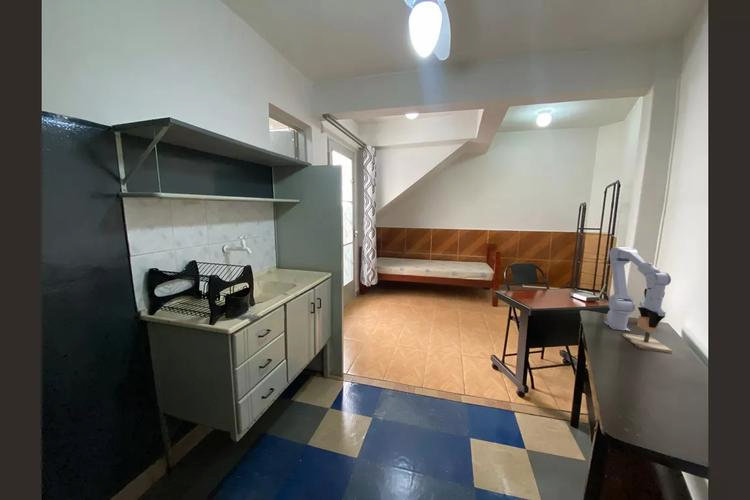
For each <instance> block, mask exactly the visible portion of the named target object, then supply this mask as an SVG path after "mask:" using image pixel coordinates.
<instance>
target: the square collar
mask: <svg viewBox="0 0 750 500" xmlns="http://www.w3.org/2000/svg"><path fill="white" fill-rule="evenodd" d="M658 326H659V324H658V325H657V326H656V328H652V327H649V317H641V315H640V316H638V318H637V324H636V327H638V328H640V329H641V330H642V331H645V332H655V333H656V332H657V331H658Z"/></svg>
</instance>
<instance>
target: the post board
mask: <svg viewBox="0 0 750 500" xmlns="http://www.w3.org/2000/svg"><path fill="white" fill-rule="evenodd" d="M622 336H623V338H625V339H626V340H627V341H629V342H630V343H632V344H633V343H634V344H635V347H637V348H638V347H639V348H638V349H640V348H642V349H643V350H648V351H654V352H661V353H670V354H672V353H673V350H672V349H671V348H669V347H667V346H666V345H665V344H663V343H661V342H660V341H658V340H657V339H655V338H654V337H652V336H651V332H650V331H645V333H644V335H639V334H632V333H626V332H624V333H623V332H622ZM642 349H641V350H642Z"/></svg>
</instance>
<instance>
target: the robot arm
mask: <svg viewBox="0 0 750 500" xmlns="http://www.w3.org/2000/svg"><path fill="white" fill-rule="evenodd" d="M608 254H609V262H610V263H611V265H610V266H611V272H612V275H611V276H612V283H613V292H614V294H612V295H611V296H609V297H608V308H609V310H608V312H607V315H606V320H605V321H604V322H605V323H604V322H603V323H604V324H606V325H607V326H608V325H609V326H608V327H610V328H611V329H612V330H619V331H625V330H626V331H627V332H631V330H630V329H629V328H628V322H629V317H630V315H631V314H632V313H633V312H634V311H635V310H636V303H635V302H634V298H633V297H632V296H630V295H629V294H628V288H627V280H626V270H625V265H626V264H628V263H630V262H632V263H633V264H634V265H636V266H637V270H638V271H639V273H640V274H642V275H643V277H645V282H646V289H647V292H646V297H645V296H644V301H639V303H638V304H639V306H638V307H637V309H638V311H639V313H640V316H641V317H649V327H652V328H656V326H657V325H658V326H659V323H660V322H661V321H662V320H664V319H665V318H666V312H665V311H664V310H663V309H662V303H663V301H664V300H663V299H664V297H665V294H664V292H665V289H666V286H669V285H670V283H671V280H672V278H671V276H670V275H669V273H668V272H662V271H661V270H660V269H658V268H657V267H656V266H655V265H654V264H653V263H652V262H648V261H645V260H644V259H643V258H642V256H640V255H639V250H637V249H636V248H635V247H621V246H612V247H611V249H610V250H609V252H608ZM663 296H664V297H663Z"/></svg>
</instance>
